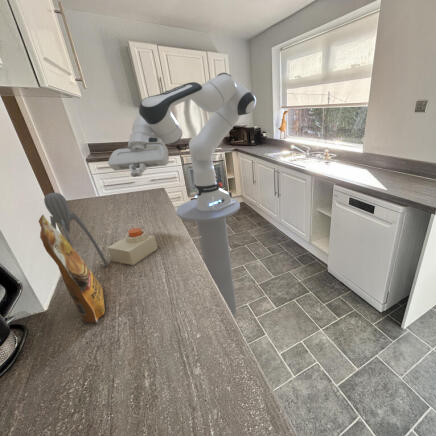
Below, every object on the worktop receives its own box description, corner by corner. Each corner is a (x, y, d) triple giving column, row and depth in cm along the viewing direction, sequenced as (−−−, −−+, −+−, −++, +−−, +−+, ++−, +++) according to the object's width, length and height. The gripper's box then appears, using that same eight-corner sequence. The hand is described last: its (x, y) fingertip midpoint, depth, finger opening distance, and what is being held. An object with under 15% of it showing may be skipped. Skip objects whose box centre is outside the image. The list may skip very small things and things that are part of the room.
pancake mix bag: (75, 335, 61) (24, 240, 49) (77, 293, 75) (38, 211, 63) (107, 322, 65) (67, 231, 53) (104, 284, 78) (71, 205, 67)
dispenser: (138, 244, 101) (133, 228, 98) (158, 248, 99) (153, 231, 95) (112, 261, 91) (105, 242, 87) (133, 265, 88) (127, 246, 85)
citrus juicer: (107, 265, 88) (77, 187, 76) (108, 279, 81) (75, 195, 68) (67, 276, 82) (27, 193, 69) (64, 293, 75) (19, 203, 62)
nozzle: (136, 231, 96) (134, 227, 95) (145, 233, 95) (143, 228, 94) (126, 236, 92) (125, 232, 91) (136, 238, 91) (134, 233, 90)
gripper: (108, 143, 89) (99, 173, 82) (164, 138, 90) (160, 166, 83) (119, 155, 94) (112, 183, 88) (172, 150, 95) (168, 177, 89)
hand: (135, 175), depth 86 cm, fingers closed
